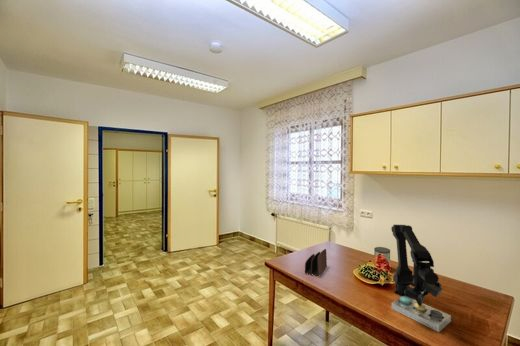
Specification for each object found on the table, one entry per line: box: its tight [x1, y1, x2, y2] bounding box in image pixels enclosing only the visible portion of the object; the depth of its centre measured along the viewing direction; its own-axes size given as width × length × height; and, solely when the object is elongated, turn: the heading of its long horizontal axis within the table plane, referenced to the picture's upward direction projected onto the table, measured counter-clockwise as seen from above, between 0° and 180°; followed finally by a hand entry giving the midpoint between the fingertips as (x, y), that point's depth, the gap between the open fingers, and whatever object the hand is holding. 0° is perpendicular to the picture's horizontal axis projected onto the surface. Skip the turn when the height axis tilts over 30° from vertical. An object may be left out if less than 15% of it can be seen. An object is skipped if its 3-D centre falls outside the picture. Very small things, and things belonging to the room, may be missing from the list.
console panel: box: [391, 295, 452, 333], centre depth 119 cm, size 21×13×3 cm, turn 33°
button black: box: [430, 310, 442, 321], centre depth 113 cm, size 5×5×4 cm
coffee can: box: [374, 246, 391, 265], centre depth 171 cm, size 10×10×14 cm
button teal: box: [399, 296, 410, 306], centre depth 125 cm, size 5×5×4 cm
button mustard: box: [414, 303, 426, 313], centre depth 119 cm, size 5×5×4 cm
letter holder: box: [304, 248, 328, 277], centre depth 171 cm, size 10×20×14 cm, turn 149°
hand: (419, 305), depth 119 cm, fingers closed, pressing on button mustard
